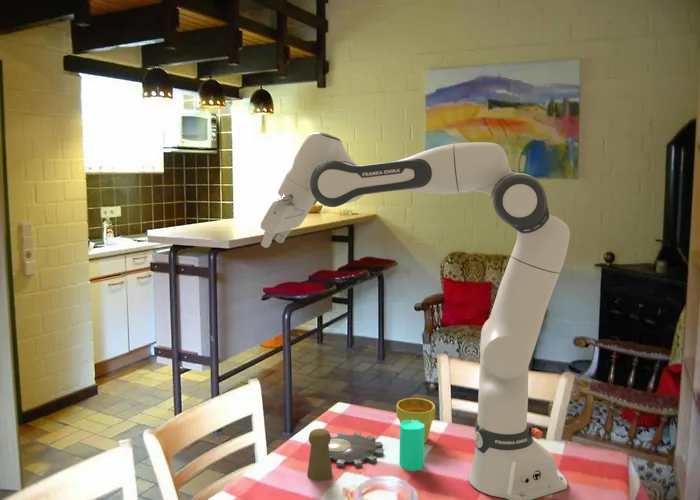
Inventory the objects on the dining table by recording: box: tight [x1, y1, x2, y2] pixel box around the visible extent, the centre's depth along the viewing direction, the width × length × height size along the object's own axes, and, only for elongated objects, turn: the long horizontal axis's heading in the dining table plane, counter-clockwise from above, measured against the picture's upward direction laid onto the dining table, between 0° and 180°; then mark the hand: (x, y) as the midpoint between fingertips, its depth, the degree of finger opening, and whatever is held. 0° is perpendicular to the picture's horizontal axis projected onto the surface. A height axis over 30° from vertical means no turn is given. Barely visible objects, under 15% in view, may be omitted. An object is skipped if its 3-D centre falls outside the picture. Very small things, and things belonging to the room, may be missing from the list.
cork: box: [306, 428, 333, 482], centre depth 143 cm, size 6×6×11 cm
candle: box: [398, 418, 425, 472], centre depth 148 cm, size 6×6×12 cm
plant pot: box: [395, 397, 436, 444], centre depth 162 cm, size 10×10×10 cm
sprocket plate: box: [328, 432, 384, 468], centre depth 156 cm, size 18×18×1 cm
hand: (271, 243), depth 146 cm, fingers open, 8 cm apart
